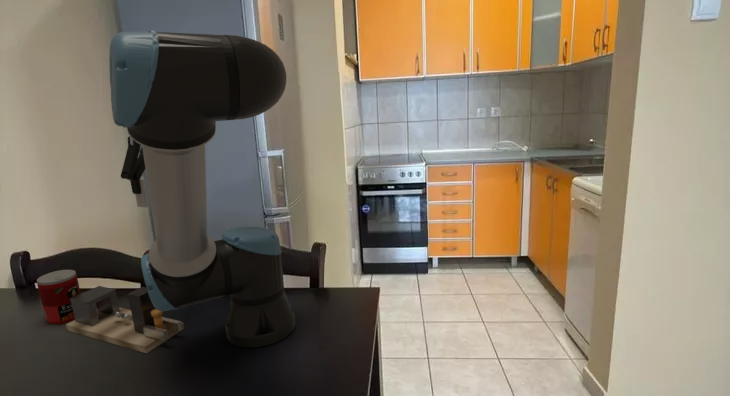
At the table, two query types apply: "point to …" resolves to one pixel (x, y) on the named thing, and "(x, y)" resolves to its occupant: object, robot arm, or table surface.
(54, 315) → the canned food
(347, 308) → the table surface
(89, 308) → the block
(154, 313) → the keeper post
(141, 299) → the two-pronged fork block
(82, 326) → the rail board
